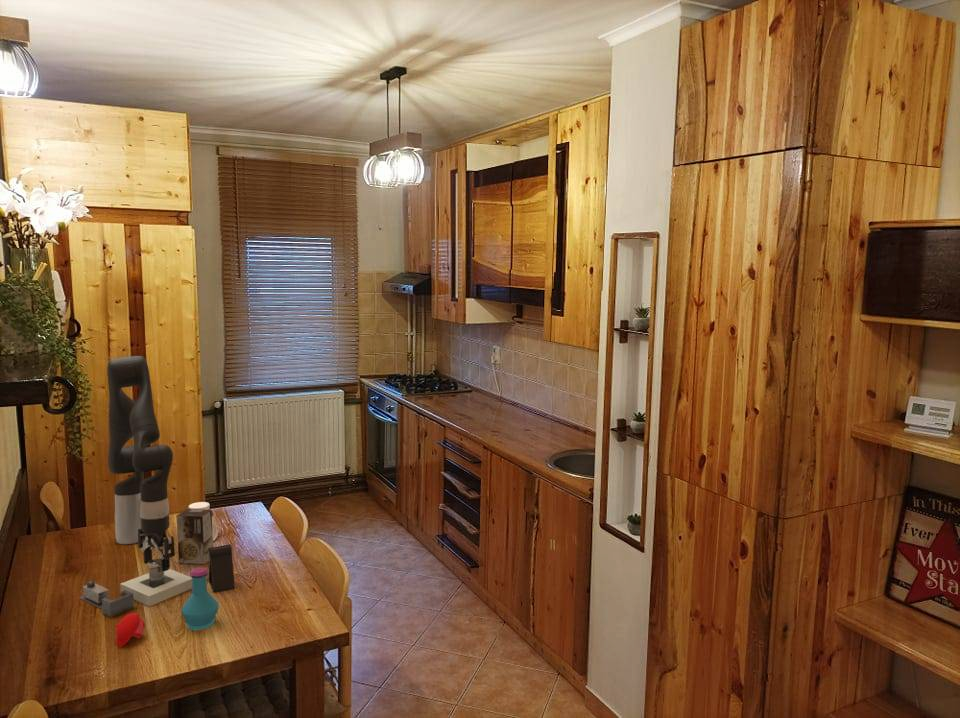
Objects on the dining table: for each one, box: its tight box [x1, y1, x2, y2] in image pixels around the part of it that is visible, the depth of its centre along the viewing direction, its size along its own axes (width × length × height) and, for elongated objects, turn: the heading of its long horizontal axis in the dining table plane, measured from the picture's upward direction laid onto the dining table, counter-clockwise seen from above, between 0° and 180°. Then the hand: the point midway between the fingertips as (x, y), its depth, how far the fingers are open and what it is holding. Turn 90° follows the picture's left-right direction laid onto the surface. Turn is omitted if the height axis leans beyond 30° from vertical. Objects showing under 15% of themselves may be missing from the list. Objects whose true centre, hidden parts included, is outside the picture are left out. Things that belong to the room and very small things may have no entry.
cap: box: [115, 612, 145, 648], centre depth 174 cm, size 8×6×6 cm
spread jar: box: [188, 501, 219, 541], centre depth 241 cm, size 12×11×12 cm
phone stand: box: [207, 544, 236, 593], centre depth 206 cm, size 9×6×12 cm, turn 30°
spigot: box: [147, 557, 165, 588], centre depth 201 cm, size 5×5×9 cm
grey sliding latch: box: [78, 590, 135, 618], centre depth 193 cm, size 18×7×4 cm, turn 58°
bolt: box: [82, 579, 110, 604], centre depth 195 cm, size 8×3×4 cm, turn 58°
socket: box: [119, 568, 192, 607], centre depth 201 cm, size 14×14×3 cm
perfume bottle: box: [181, 566, 220, 631], centre depth 182 cm, size 9×9×15 cm
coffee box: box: [175, 508, 214, 565], centre depth 223 cm, size 9×6×16 cm
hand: (156, 566), depth 201 cm, fingers open, 8 cm apart
